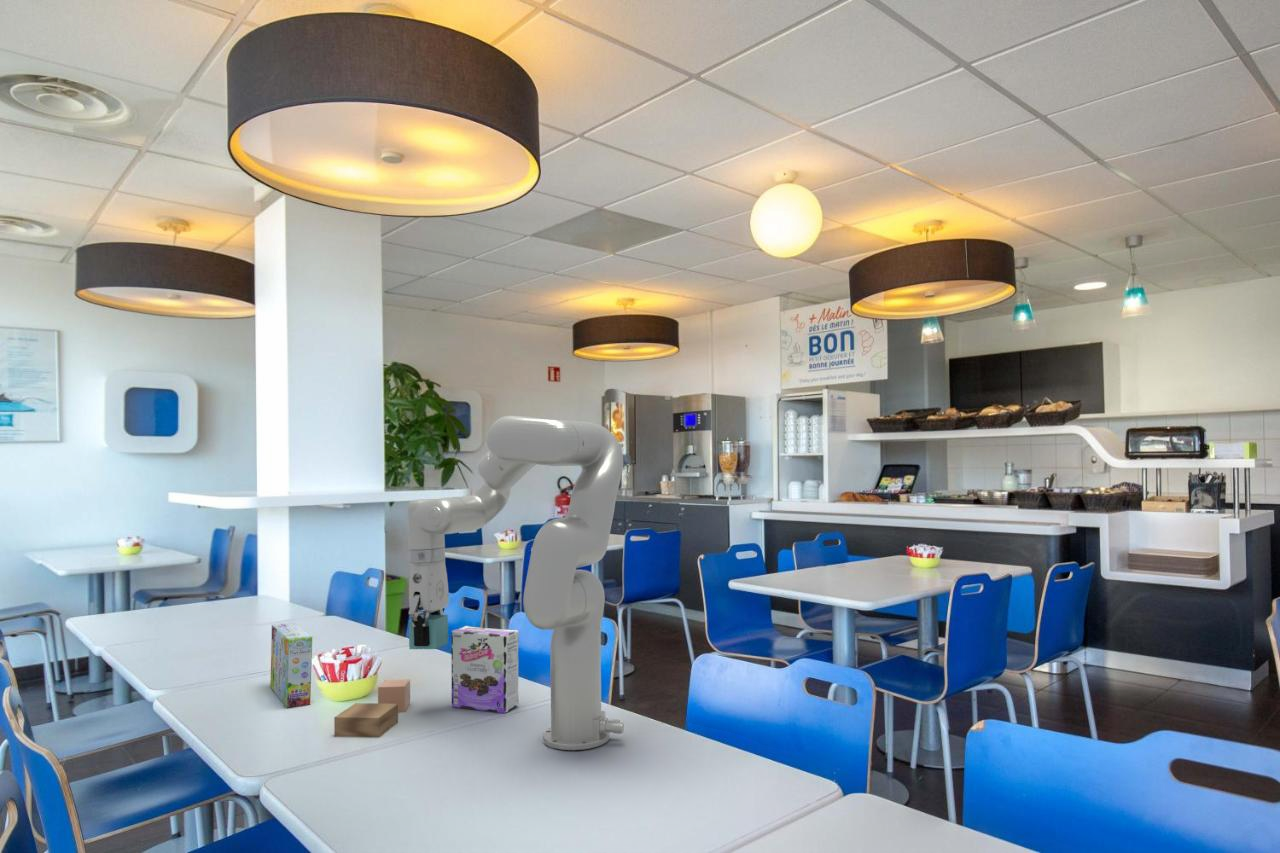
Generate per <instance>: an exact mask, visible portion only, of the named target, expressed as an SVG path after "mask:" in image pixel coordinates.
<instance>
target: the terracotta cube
mask: <svg viewBox="0 0 1280 853" xmlns="http://www.w3.org/2000/svg"><path fill="white" fill-rule="evenodd" d="M377 690H378V691H377V703H380V704H398V714H399V713H400V714H401V713H406V711H407V710H408V708H409V706H411V679H387V680H386V679H384V680H383V681H382V682H381V683H380V685H379V686H377Z"/></svg>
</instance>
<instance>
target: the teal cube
mask: <svg viewBox="0 0 1280 853" xmlns="http://www.w3.org/2000/svg"><path fill="white" fill-rule="evenodd" d="M448 616H449V615H448V614H444V615H429V616H428V623H427V626H429V641H430V644H429V646H415V645H414V627H413V622H412V620H411V619H408V639H409V640H408V644H409V646H408V648H409V650H437V649H438V650H439V649H440V648H441V647H443V646H446V645H447V644H449V619H448V618H449V617H448ZM421 617H422V618H423V617H424V615H421Z"/></svg>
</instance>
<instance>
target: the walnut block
mask: <svg viewBox="0 0 1280 853" xmlns="http://www.w3.org/2000/svg"><path fill="white" fill-rule="evenodd" d="M333 718H334V720H333V722H334V727H333V728H334V730H333V731H334V734H333V736H334V737H338V738H339V737H343V738H344V737H345V738H349V737H350V738H380V737H381V736H383V735H385V733H386V732H388V731H389V730H390V729H392V728H393V727H394V726H395V725H397V724H398V723H399V713H398V704H380V703H378V702H377V703H376V702H375V703H373V702H372V703H371V702H370V703H369V702H367V703H366V702H355V703H354V704H352V705H350V706H349V707H348V708H346V709H344V710H343V711H342V712H340V713H339V714H337V715H336V716H334V717H333Z"/></svg>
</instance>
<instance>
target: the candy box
mask: <svg viewBox="0 0 1280 853" xmlns="http://www.w3.org/2000/svg"><path fill="white" fill-rule="evenodd" d="M518 705H519V630H518V629H503V628H502V629H501V628H500V629H499V628H488V627H487V628H486V627H477V626H469V625H465V626H463V627H459V628H457V629H453V630H451V707H453V708H457V709H458V708H460V709H467V710H477V711H484V712H494V713H499V714H506V712H507V713H508V711H509V712H510V710H511V711H512V709H513V710H515V709H516V708H518V707H519V706H518ZM517 706H518V707H517ZM515 707H516V708H515ZM514 708H515V709H514Z"/></svg>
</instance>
